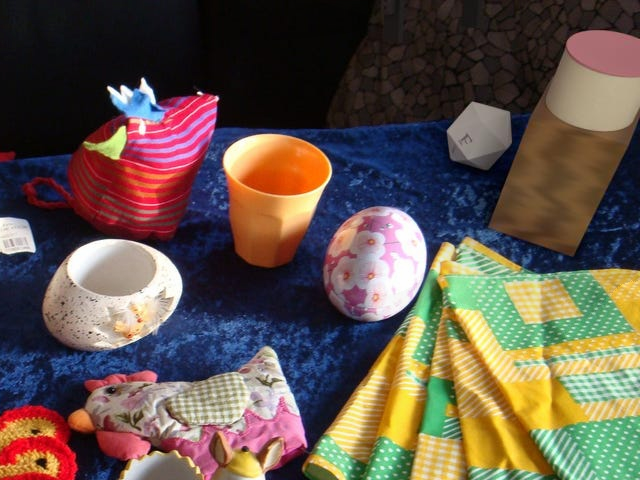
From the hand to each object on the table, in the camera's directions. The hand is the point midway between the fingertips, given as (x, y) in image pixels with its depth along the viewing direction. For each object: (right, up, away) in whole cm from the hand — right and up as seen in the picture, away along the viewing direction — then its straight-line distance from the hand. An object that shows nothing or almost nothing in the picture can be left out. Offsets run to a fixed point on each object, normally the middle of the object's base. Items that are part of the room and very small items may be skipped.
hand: (432, 34), depth 108 cm
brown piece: (+16, -24, +4) cm, 29 cm away
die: (+10, -13, +13) cm, 21 cm away
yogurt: (+16, -12, -9) cm, 22 cm away
